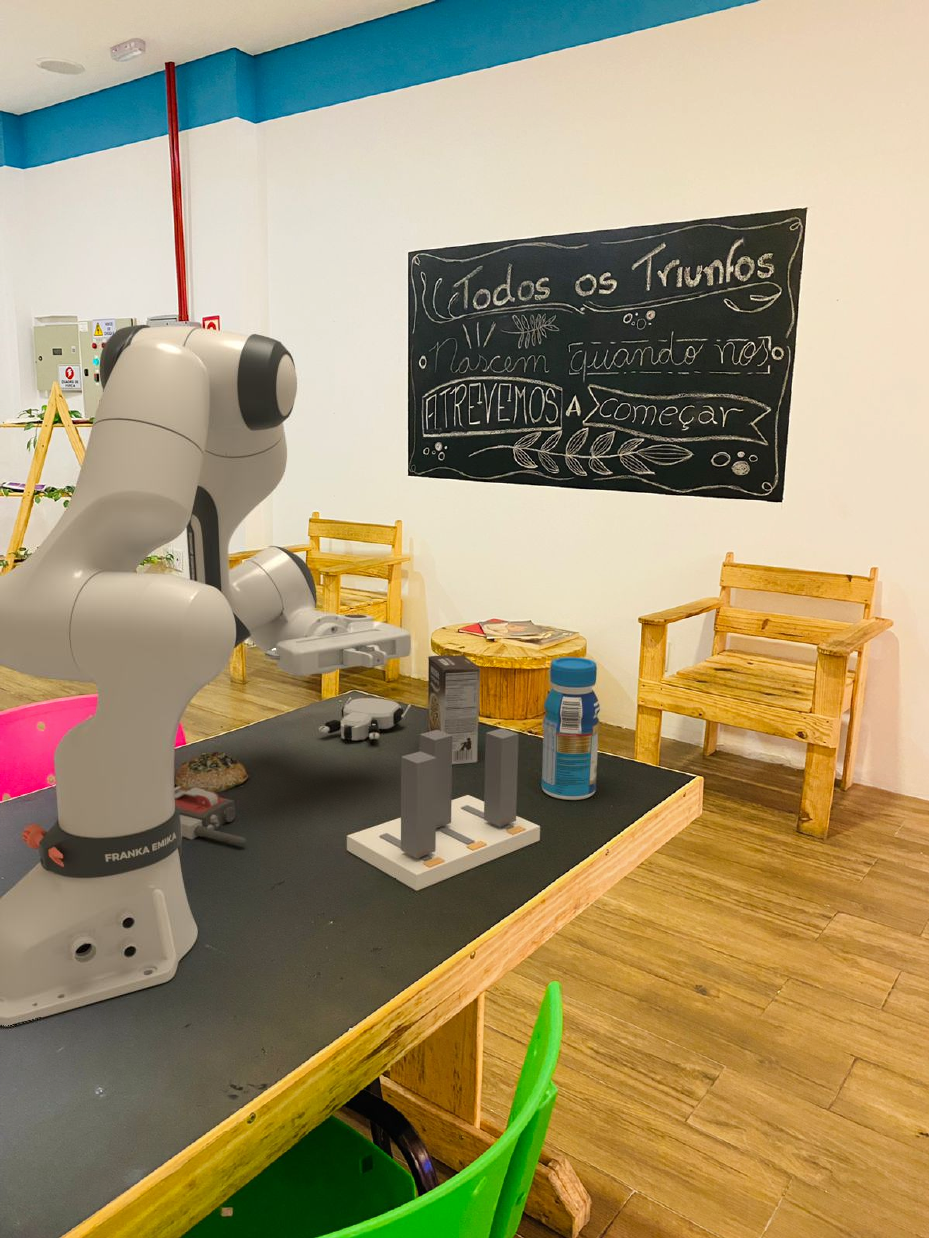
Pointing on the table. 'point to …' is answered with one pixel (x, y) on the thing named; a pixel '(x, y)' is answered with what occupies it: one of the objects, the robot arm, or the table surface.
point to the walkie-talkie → (205, 814)
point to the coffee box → (455, 703)
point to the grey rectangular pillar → (440, 771)
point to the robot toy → (365, 718)
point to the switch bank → (443, 845)
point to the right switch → (501, 777)
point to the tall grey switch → (418, 804)
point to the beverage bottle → (571, 730)
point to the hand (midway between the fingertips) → (378, 660)
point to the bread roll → (210, 773)
